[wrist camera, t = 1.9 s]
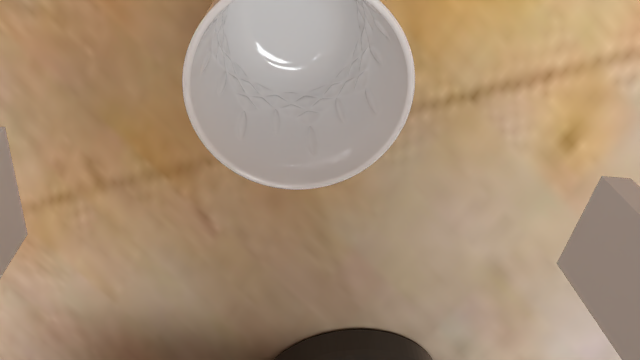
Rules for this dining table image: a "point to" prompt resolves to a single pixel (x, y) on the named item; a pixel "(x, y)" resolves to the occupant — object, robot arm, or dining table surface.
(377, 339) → the robot arm
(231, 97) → the white cup
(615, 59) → the dining table surface
